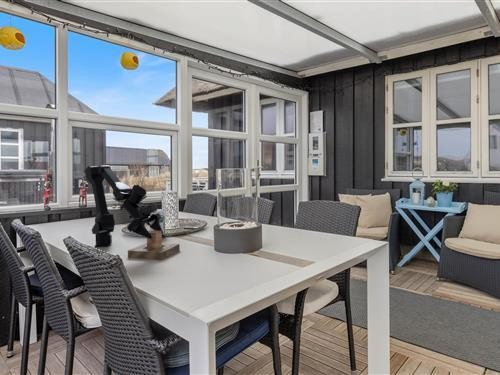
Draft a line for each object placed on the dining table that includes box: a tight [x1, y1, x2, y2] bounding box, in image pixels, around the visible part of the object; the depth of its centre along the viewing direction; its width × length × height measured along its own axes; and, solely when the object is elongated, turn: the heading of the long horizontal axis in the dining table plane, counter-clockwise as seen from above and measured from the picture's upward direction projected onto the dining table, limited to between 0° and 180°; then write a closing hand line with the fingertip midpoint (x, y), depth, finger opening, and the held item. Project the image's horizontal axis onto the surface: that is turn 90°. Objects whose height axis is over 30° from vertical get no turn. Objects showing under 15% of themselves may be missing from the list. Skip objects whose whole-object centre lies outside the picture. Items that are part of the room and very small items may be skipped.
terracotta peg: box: [146, 230, 163, 250], centre depth 151 cm, size 5×5×10 cm
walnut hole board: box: [127, 242, 181, 261], centre depth 151 cm, size 16×16×3 cm
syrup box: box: [149, 208, 166, 234], centre depth 189 cm, size 6×6×14 cm
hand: (157, 235), depth 150 cm, fingers open, 9 cm apart
